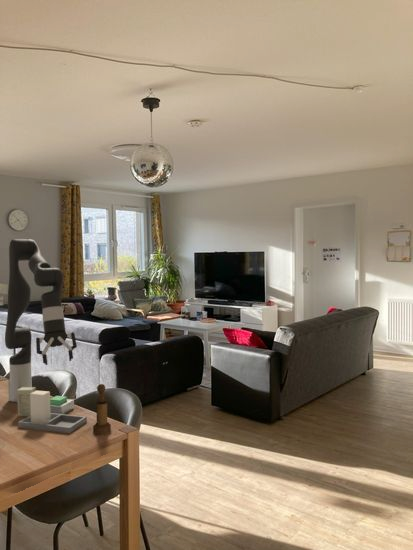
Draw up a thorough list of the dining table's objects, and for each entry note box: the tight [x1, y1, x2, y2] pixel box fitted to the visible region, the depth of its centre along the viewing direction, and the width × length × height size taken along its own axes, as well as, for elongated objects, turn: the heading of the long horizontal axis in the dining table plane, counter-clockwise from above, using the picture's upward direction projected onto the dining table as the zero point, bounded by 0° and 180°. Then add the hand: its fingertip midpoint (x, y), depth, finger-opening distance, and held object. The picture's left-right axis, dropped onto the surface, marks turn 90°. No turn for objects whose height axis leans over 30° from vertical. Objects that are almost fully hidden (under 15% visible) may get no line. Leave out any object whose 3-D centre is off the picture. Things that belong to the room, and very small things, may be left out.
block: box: [30, 390, 51, 424], centre depth 177 cm, size 6×4×12 cm, turn 74°
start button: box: [50, 395, 68, 405], centre depth 190 cm, size 5×5×3 cm
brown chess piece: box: [92, 383, 112, 436], centre depth 171 cm, size 7×6×18 cm
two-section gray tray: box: [17, 413, 88, 434], centre depth 175 cm, size 22×12×4 cm, turn 74°
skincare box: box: [16, 386, 37, 417], centre depth 187 cm, size 6×4×12 cm
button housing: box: [50, 398, 75, 414], centre depth 191 cm, size 9×9×5 cm
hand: (58, 362), depth 169 cm, fingers open, 8 cm apart
